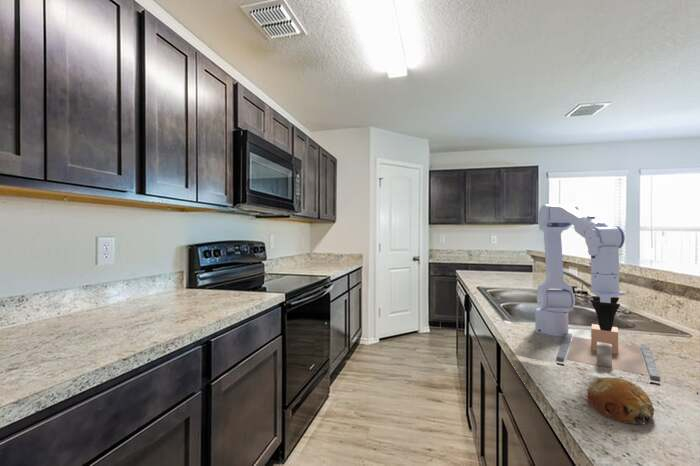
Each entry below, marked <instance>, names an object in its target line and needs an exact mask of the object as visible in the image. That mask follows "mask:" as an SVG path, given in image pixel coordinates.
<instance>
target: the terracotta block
mask: <svg viewBox="0 0 700 466" xmlns="http://www.w3.org/2000/svg"><path fill="white" fill-rule="evenodd" d="M590 332H591V334H590V339H591V350H597V342H601V343H607V344H612V353H615V354H618V344H619V328H618V327H617V326H612V330H611V331H605V330H600V327H599V324H595V323H591V328H590Z"/></svg>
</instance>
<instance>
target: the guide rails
mask: <svg viewBox="0 0 700 466" xmlns="http://www.w3.org/2000/svg"><path fill="white" fill-rule="evenodd" d="M572 338H573V334H572V333H569V332H568V333H566V334H565V336H563V339H562V341H561V345H560V347H559V350H558V353H557V354H556V358H555V359H556V361H560V362H564V361H565V358H566V357H567V354H568V351H569V350H568V349H569V348H570V345H571V341H572ZM649 346H650V345H646V344H640V350H641V351H642V352H641V353H642V357H643V360H644V363H645V367H646V368H647V373H648V376H649V378H650V380H654V381H649V383H650V385H655V386H661V383H659V382H655V381H661V376H660V374H659V370H658V368H657V366H656V363H655V359H654V358H653V355H652V352H651V349H650V347H649ZM560 362H556V365H557V366H565V364H564V363H560Z"/></svg>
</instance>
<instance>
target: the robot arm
mask: <svg viewBox="0 0 700 466" xmlns="http://www.w3.org/2000/svg"><path fill="white" fill-rule="evenodd" d="M537 214H538V215H537V218H538V227H539V230H540V231H542V232H543V240H544V241H543V242H544V257H545V258H544V260H545V275H546V280H544V281H543V282H541V283H540V284H539V285H538V286H537V291H536V292H537V294H536V302H537V305H538V307H537V308H536V309H535V315H534V316H535V317H534V319H535V320H534V321H535V322H534V323H535V326H534V329H535V331H534V332H535V333H538V334H544V335H548V336H554V337H564V336H565V334H566V333H569V312H571V311H572V309H574V308H575V305H576V297H575V295H574V291H573V287H572V285H571V284H569V283H567V281H565V277H564V261H563V248H562V247H563V246H562V245H563V244H562V233H563V231H566V230H569V228H570V227H571V226H573V229H574V231H575V232H576V233H577V234H579V235H580V236H581V237H582V238H584V240H585V245H586V246H587V253H588V256H590V292H589V293H591V294H592V296H591V298H592V299H591V300H590V303H591V305H592V307H593V309H594V311H595V313H596V318H597V321H598V325H599V327H600V330H605V331H611V330H612V327H614V326H613V325H614V321H615V317H616V313H617V311H618V310H619V309H620V306H621V304H620V303H618V302H619V301H620V300H619V299H620V298H619V296H626V294H627V293H626V291H620V249H621V248H622V247H623V246H624V244H625V240H626V239H625V238H626V236H625V232H624V230H623V229H622V228H621V227H620V226H618V225H613V226H608V225H607V224H606V223H605V222H604V221H600V220H598V219H597V218H596V216H595V215H594V214H586V215H584V214H582V213H581V212H580V211H579V207H578V205H576V204H575V203H567V204H565V203H564V204H563V203H562V204H546V203H545V204H541V206H540V207H539V210H538V213H537Z"/></svg>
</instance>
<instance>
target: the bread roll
mask: <svg viewBox="0 0 700 466" xmlns="http://www.w3.org/2000/svg"><path fill="white" fill-rule="evenodd" d="M586 395H587V401H588V404H589V405H590V407H592V408H593V409H594V410H595V411H597V412H598V413H599V414H600V415H603V416H604V415H605V417H606V418H609V419H611V418H612V420H614V421H617V422H620V421H621V423H624V422H626V423H625V424H631V423H635V424H634V425H644V424H643V423H646V424H648V423H649V422H651V421H652V419H653V417H654V416H655V415H654V414H655V408H654V405H653V403H652V400H651V399H650V397H649V395H648V394H647V392H646V391H645V390H644V389H643V388H642V387H641V386H639V385H637V383H633V382H632V381H630V380H627V379H624V378H622V377H621V378H620V377H609V376H608V377H600V378H598V379H596V380H595V381H593V382H592V383H591V384H590V385H589V386H588V389H587V394H586Z"/></svg>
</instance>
